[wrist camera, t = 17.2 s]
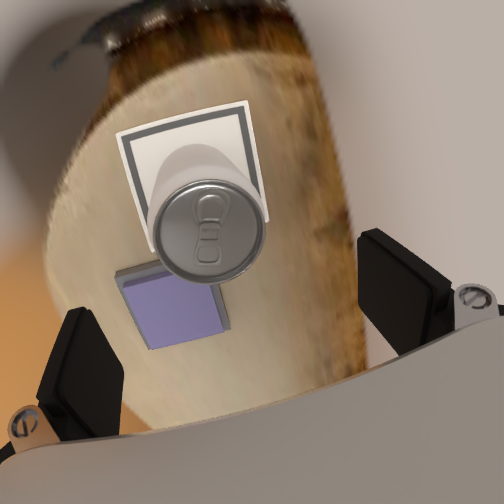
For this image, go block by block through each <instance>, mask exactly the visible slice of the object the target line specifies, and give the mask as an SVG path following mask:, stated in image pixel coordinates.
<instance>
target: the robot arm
mask: <svg viewBox="0 0 504 504" xmlns="http://www.w3.org/2000/svg"><path fill="white" fill-rule="evenodd" d="M357 257H358V303H359V307H360V309H361V310H362V311H363V313H364V314H365V315H366V316H367V317H368V319H369V320H370V321H371V322H372V323H373V324H374V326H375V327H376V328H377V329H378V330H379V332H380V333H381V334H382V335H383V337H384V338H385V339H386V340H387V341H388V343H389V344H390V345H391V346H392V348H393V349H394V350H395V351H396V352H397V354H398V355H399V357H396V358H394V359H391V360H389V361H387V362H384V363H382V364H380V365H377V366H375V367H373V368H370V369H368V370H365V371H363V372H360V373H358V374H355V375H353V376H350V377H347V378H345V379H342V380H339V381H337V382H334V383H331V384H328V385H325V386H323V387H320V388H317V389H314V390H311V391H308V392H305V393H302V394H299V395H296V396H293V397H290V398H286V399H283V400H280V401H277V402H273V403H270V404H266V405H263V406H259V407H256V408H252V409H249V410H245V411H241V412H237V413H233V414H229V415H225V416H221V417H217V418H212V419H208V420H203V421H199V422H194V423H189V424H184V425H179V426H174V427H169V428H163V429H157V430H151V431H145V432H138V433H131V434H124V435H119V427H120V413H121V402H122V391H123V381H124V370H123V367H122V365H121V363H120V361H119V360H118V358H117V356H116V354H115V353H114V351H113V349H112V348H111V346H110V344H109V342H108V340H107V339H106V337H105V335H104V333H103V331H102V330H101V328H100V326H99V324H98V322H97V320H96V318H95V316H94V314H93V313H92V311H91V310H89V309H88V310H87V309H86V308H85V307H79V308H75V309H71V310H69V311H68V312H67V315H66V317H65V319H64V322H63V324H62V327H61V329H60V331H59V334H58V336H57V339H56V342H55V344H54V347H53V349H52V352H51V354H50V357H49V360H48V363H47V365H46V368H45V371H44V374H43V377H42V380H41V383H40V386H39V389H38V392H37V395H36V398H37V399H38V400H39V403H38V406H35V405H27V406H24V407H22V408H20V409H19V410H17V411H16V412H15V413H14V415H13V416H12V417H11V419H10V421H9V424H8V435H9V438H10V440H11V441H10V442H8V443H7V444H6V445H5V446H4V447H3V448H2V449H0V504H504V305H498V304H497V300H496V297H495V295H494V293H493V292H492V291H491V290H489V289H488V288H486V287H484V286H482V285H479V284H464V285H461V286H460V287H458V288H457V289H456V290H455V291H454V290H453V289H452V288H451V284H452V282H451V281H450V280H448V279H447V278H446V277H444V276H443V275H442V274H440V273H439V272H438V271H436V270H435V269H434V268H432V267H431V266H430V265H429V264H427V263H426V262H425V261H423V260H422V259H420V258H419V257H418V256H416V255H415V254H414V253H412V252H410V251H409V250H408V249H407V248H405V247H404V246H403V245H401V244H400V243H398V242H397V241H395V240H394V239H393V238H391V237H390V236H388V235H387V234H385V233H384V232H383V231H381V230H380V229H378V228H375V229H371V230H368V231H364V232H362V233H361V236H360V237H358V239H357Z"/></svg>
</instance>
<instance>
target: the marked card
mask: <svg viewBox="0 0 504 504" xmlns="http://www.w3.org/2000/svg"><path fill="white" fill-rule="evenodd" d="M115 134H116V138H117V142H118V146H119V149H120V153H121V157H122V161H123V164H124V168H125V171H126V175H127V178H128V182H129V185H130V188H131V192H132V195H133V198H134V201H135V205H136V208H137V211H138V214H139V217H140V220H141V223H142V226H143V230H144V233H145V235H146V238H147V241H148V244H149V247H150V250H151V253H152V252H155V250H154V248H153V246H152V244H151V242H150V239H149V235H148V228H147V216H148V209H149V205H150V201H151V197H152V193H153V189H154V185H155V182H156V178H157V175H158V172H159V169H160V167H161V165H162V163H163V162H164V160H165V159H166V158H167V157H168V156H169V155H170V154H171V153H172V152H173V151H175V150H176V149H178V148H180V147H183V146H186V145H190V144H206V145H210V146H212V147H214V148H216V149H218V150H219V151H221V152H222V153H223V154H224V155H225V156H226V157H227V158H228V159H229V160H230V161H231V162H232V163H233V164H234V165H235V166H236V167H237V168H238V169H239V170H240V171H241V172H242V173H243V174H244V175H245V176H246V177H247V179H248V180H249V181H250V182H251V183H252V184H253V186H254V187H255V188H256V190H257V192H258V193H259V195H260V198H261V200H262V203H263V206H264V211H265V222H269V216H268V210H267V204H266V199H265V193H264V187H263V182H262V176H261V171H260V165H259V159H258V154H257V149H256V143H255V138H254V132H253V127H252V122H251V116H250V111H249V106H248V101H247V100H245V101H239V102H234V103H229V104H224V105H219V106H215V107H210V108H206V109H201V110H197V111H193V112H188V113H184V114H180V115H176V116H173V117H169V118H165V119H161V120H158V121H154V122H151V123H147V124H144V125H140V126H137V127H134V128H131V129H127V130H124V131H121V132H118V133H115Z"/></svg>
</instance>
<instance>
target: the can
mask: <svg viewBox="0 0 504 504" xmlns="http://www.w3.org/2000/svg"><path fill="white" fill-rule="evenodd" d="M147 228H148V235H149V239H150V242H151V244H152V246H153V248H154V250H155V252H156V254H157V256H158V258H159V260H160V261H161V263H162V264H163V265H164V266H165V268H166V269H167V270H168V271H170V272H171V273H172V274H173V275H175V276H176V277H178V278H180V279H182V280H184V281H186V282H189V283H193V284H199V285H215V284H220V283H224V282H227V281H230V280H232V279H234V278H236V277H238V276H239V275H241V274H242V273H244V272H245V271H246V270H247V269H248V268H249V267H250V266H251V265H252V264H253V263H254V262H255V260H256V259H257V257H258V256H259V254H260V252H261V249H262V247H263V244H264V240H265V211H264V206H263V203H262V200H261V198H260V195H259V193H258V192H257V190H256V188H255V187H254V186H253V184H252V183H251V182H250V181H249V180H248V179H247V177H246V176H245V175H244V174H243V173H242V172H241V171H240V170H239V169H238V168H237V167H236V166H235V165H234V164H233V163H232V162H231V161H230V160H229V159H228V158H227V157H226V156H225V155H224V154H223V153H222V152H221V151H219V150H218V149H216V148H214V147H212V146H210V145H206V144H190V145H186V146H183V147H180V148H178V149H176V150H175V151H173V152H172V153H171V154H170V155H169V156H168V157H167V158H166V159H165V160H164V162H163V163H162V165H161V167H160V169H159V172H158V175H157V178H156V182H155V185H154V189H153V193H152V197H151V201H150V205H149V209H148V216H147Z"/></svg>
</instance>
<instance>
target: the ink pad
mask: <svg viewBox="0 0 504 504" xmlns="http://www.w3.org/2000/svg"><path fill="white" fill-rule="evenodd" d="M115 281H116V283H117V285H118V288H119V290H120V292H121V294H122V296H123V299H124V301H125V303H126V305H127V307H128V310H129V312H130V314H131V316H132V318H133V320H134V322H135V324H136V326H137V328H138V330H139V332H140V334H141V336H142V338H143V340H144V342H145V344H146V346H147V348H148V350H149V349H152V350H154V349H158V348H162V347H167V346H171V345H175V344H179V343H183V342H187V341H191V340H195V339H199V338H203V337H207V336H211V335H215V334H218V333H222V332H224V331H226V330H229V329H231V328H230V324H229V321H228V317H227V314H226V310H225V307H224V303H223V300H222V296H221V293H220V289H219V286H218V284H215V285H199V284H193V283H189V282H186V281H184V280H182V279H180V278H178V277H176V276H175V275H173V274H172V273H171V272H170V271H168V270H167V269H166V268H165V266H164V265H163V264H162V263H161V261H160V260H157V261H154V262H150V263H146V264H143V265H139V266H136V267H132V268H128V269H125V270H121V271H117V272H116V275H115Z"/></svg>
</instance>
